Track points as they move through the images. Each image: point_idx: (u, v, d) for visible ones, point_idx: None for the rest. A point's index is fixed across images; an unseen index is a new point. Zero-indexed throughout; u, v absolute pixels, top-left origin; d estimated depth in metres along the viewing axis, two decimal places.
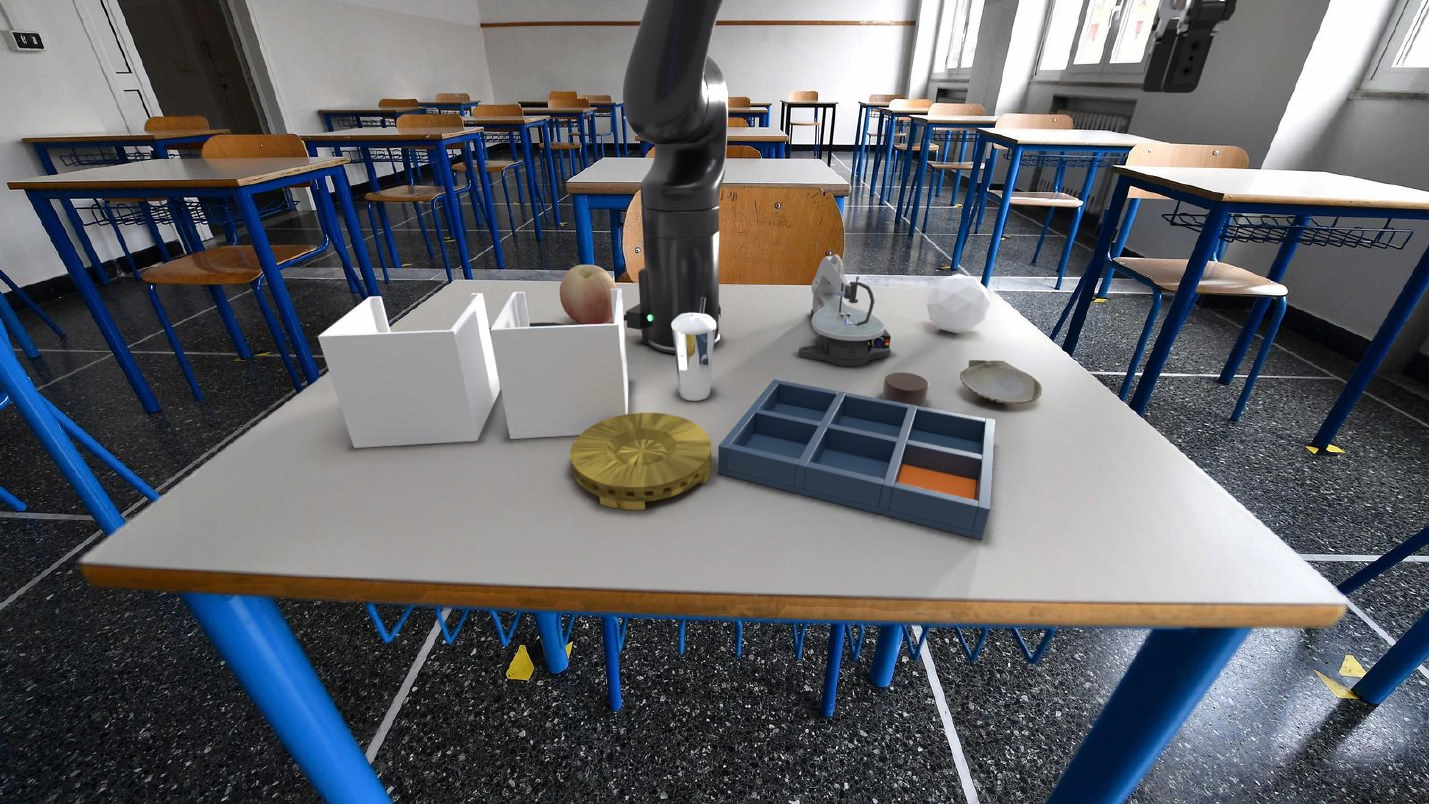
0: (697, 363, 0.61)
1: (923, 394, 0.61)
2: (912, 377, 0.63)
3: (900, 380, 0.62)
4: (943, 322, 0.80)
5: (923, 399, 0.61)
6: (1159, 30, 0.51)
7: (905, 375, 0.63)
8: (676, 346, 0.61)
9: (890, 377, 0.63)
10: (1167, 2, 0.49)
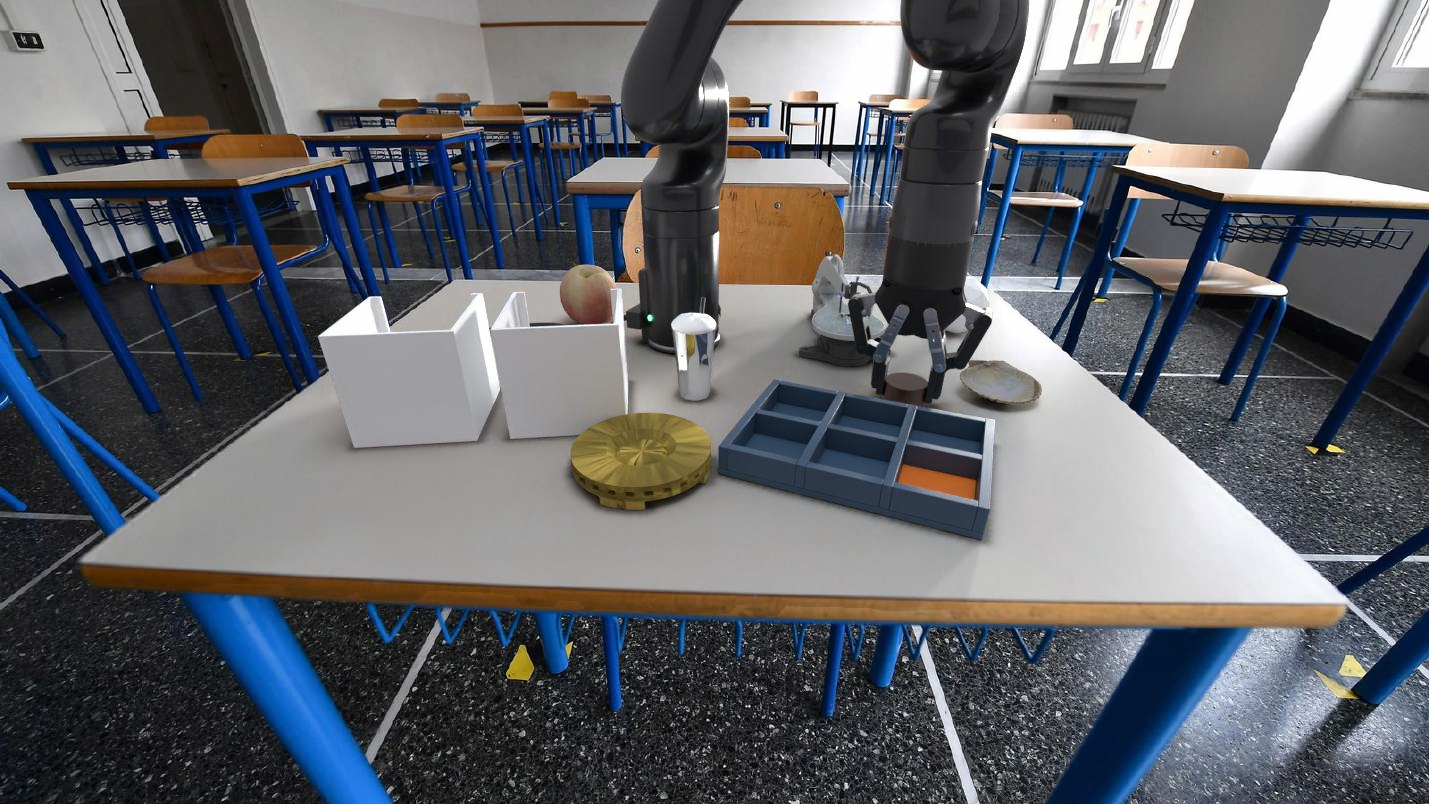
0: (697, 363, 0.61)
1: (923, 394, 0.61)
2: (912, 377, 0.63)
3: (900, 380, 0.62)
4: None
5: (923, 399, 0.61)
6: None
7: (905, 375, 0.63)
8: (676, 346, 0.61)
9: (890, 377, 0.63)
10: None
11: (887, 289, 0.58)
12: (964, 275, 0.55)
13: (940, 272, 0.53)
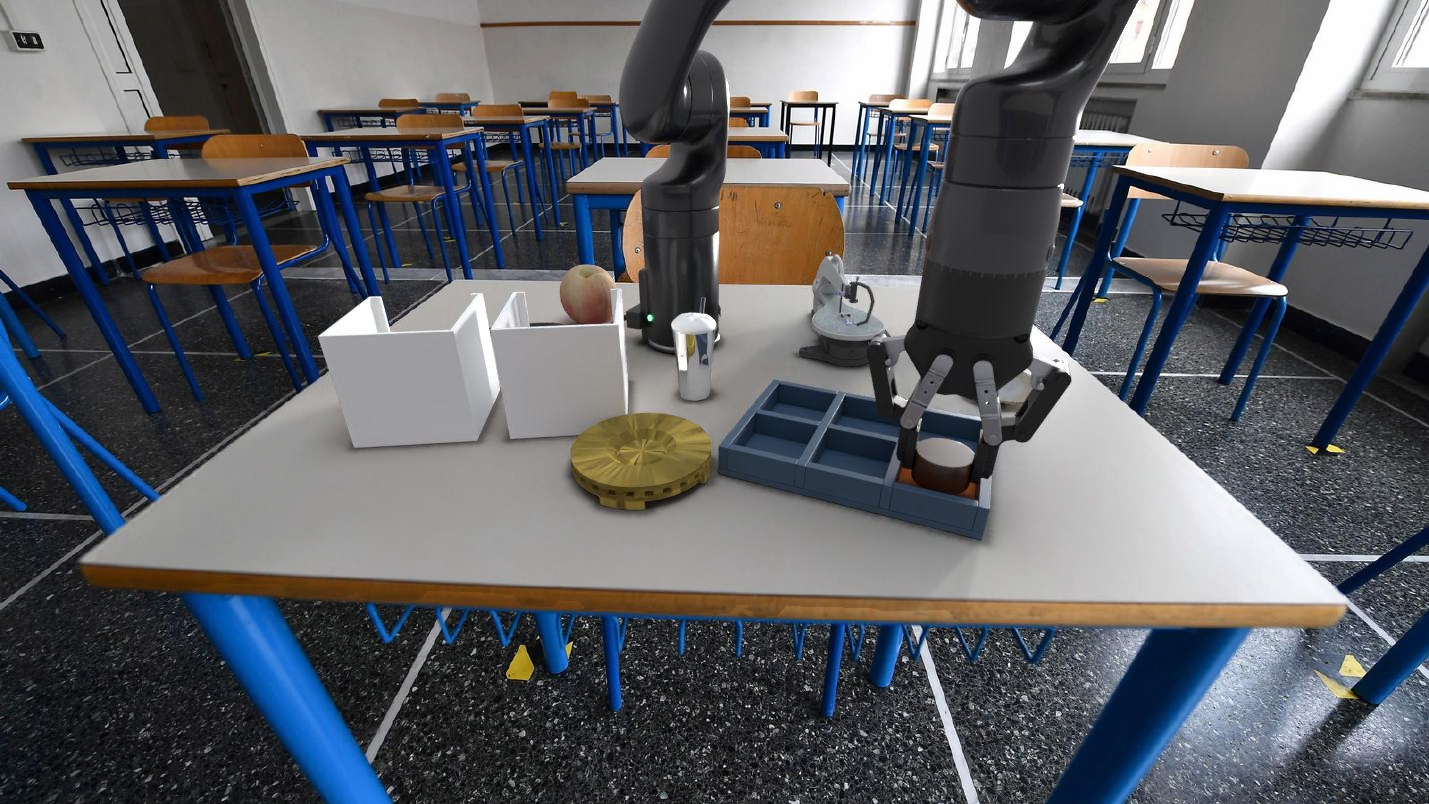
0: (697, 363, 0.61)
1: (969, 472, 0.45)
2: (952, 446, 0.47)
3: (936, 451, 0.46)
4: None
5: (968, 478, 0.45)
6: None
7: (942, 443, 0.47)
8: (676, 346, 0.61)
9: (923, 445, 0.47)
10: None
11: (922, 333, 0.42)
12: (1033, 316, 0.39)
13: (1002, 314, 0.37)
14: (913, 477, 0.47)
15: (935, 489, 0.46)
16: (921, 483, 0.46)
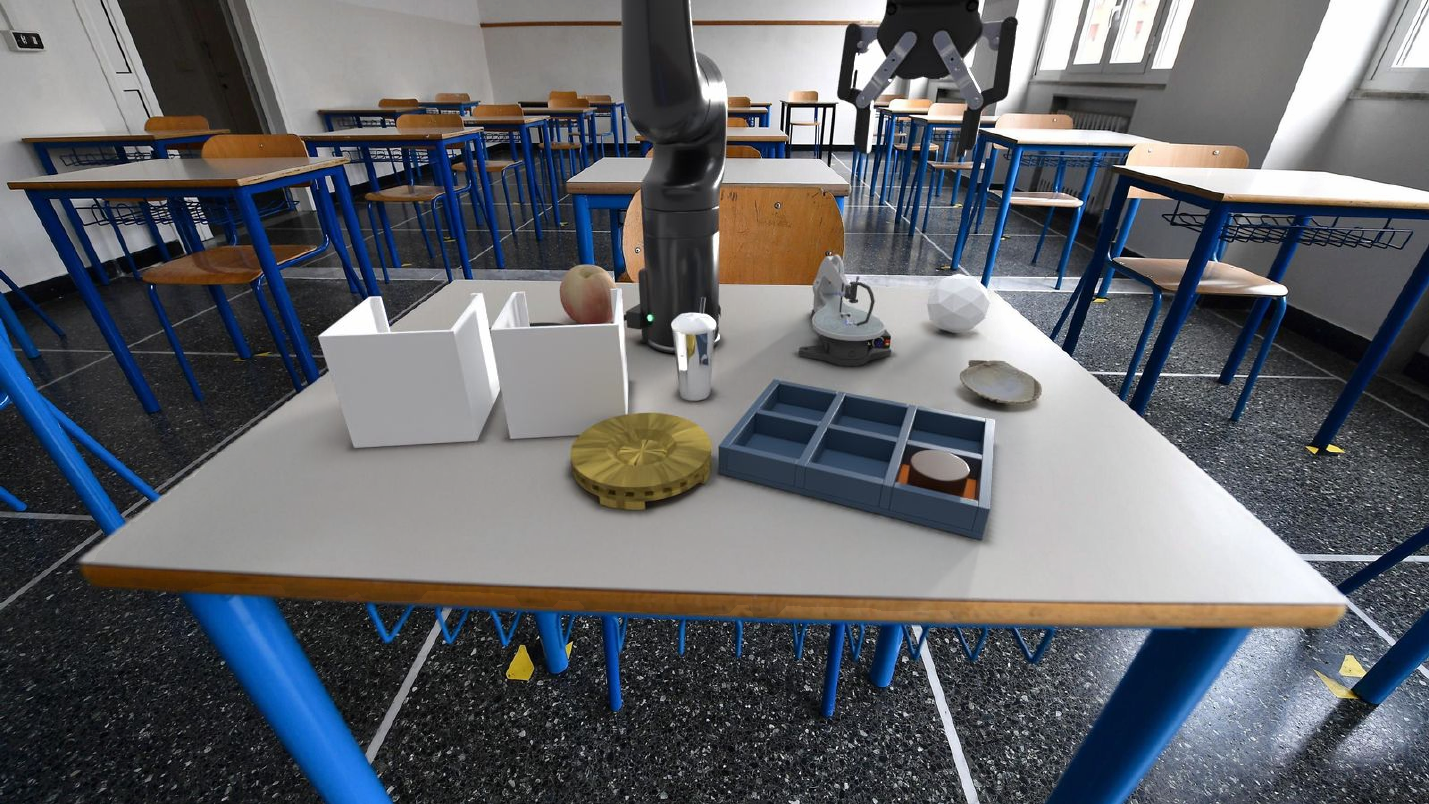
0: (697, 363, 0.61)
1: (963, 484, 0.46)
2: (946, 459, 0.48)
3: (931, 463, 0.47)
4: (943, 322, 0.80)
5: (962, 490, 0.46)
6: None
7: (937, 455, 0.48)
8: (676, 346, 0.61)
9: (917, 458, 0.48)
10: None
11: (895, 19, 0.50)
12: None
13: None
14: None
15: None
16: None
